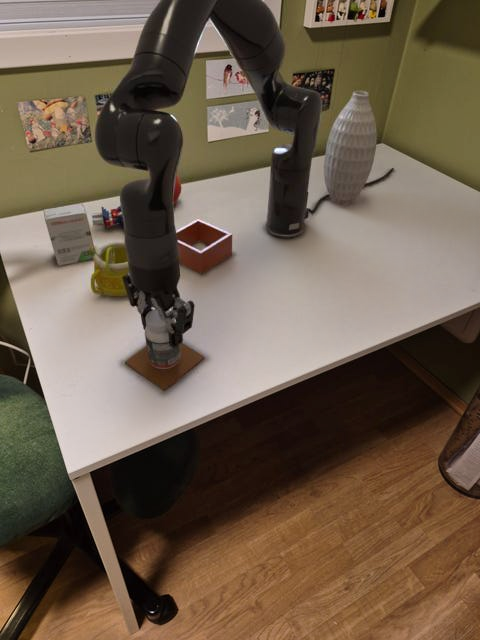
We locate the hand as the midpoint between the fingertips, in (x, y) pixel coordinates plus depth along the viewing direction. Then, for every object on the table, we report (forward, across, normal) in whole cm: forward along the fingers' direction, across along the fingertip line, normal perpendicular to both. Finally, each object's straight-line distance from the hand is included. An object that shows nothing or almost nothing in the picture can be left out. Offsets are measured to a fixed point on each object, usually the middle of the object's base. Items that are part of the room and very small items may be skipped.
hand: (162, 336), depth 79 cm
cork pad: (+6, 0, 0) cm, 6 cm away
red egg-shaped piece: (+6, +42, -42) cm, 60 cm away
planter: (+6, +18, -29) cm, 35 cm away
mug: (+6, +23, -9) cm, 25 cm away
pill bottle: (+6, 0, 0) cm, 6 cm away
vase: (+6, +7, -76) cm, 76 cm away
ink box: (+6, +39, -10) cm, 41 cm away
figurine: (+6, +42, -27) cm, 50 cm away
